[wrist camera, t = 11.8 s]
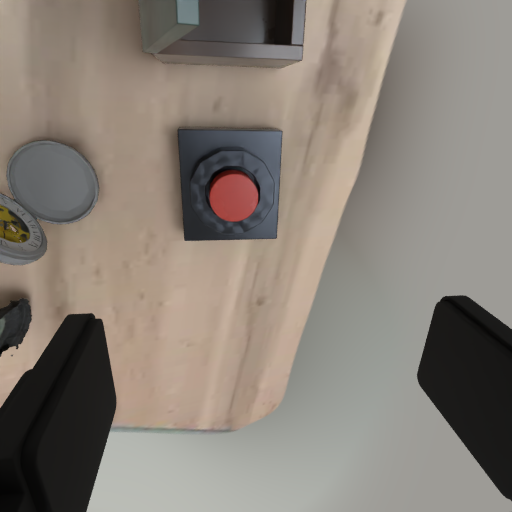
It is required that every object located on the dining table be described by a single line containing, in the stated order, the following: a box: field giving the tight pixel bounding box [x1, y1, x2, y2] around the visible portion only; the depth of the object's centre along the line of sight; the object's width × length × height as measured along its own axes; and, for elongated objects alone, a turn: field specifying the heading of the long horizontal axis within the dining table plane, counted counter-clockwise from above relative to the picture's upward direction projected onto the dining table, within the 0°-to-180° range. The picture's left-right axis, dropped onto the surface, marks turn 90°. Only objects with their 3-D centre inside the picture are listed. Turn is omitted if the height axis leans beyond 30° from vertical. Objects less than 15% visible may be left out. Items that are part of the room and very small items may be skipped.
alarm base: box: [178, 127, 282, 241], centre depth 29 cm, size 9×8×4 cm
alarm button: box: [209, 170, 258, 222], centre depth 26 cm, size 4×4×2 cm
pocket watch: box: [0, 140, 99, 265], centre depth 24 cm, size 8×8×10 cm
